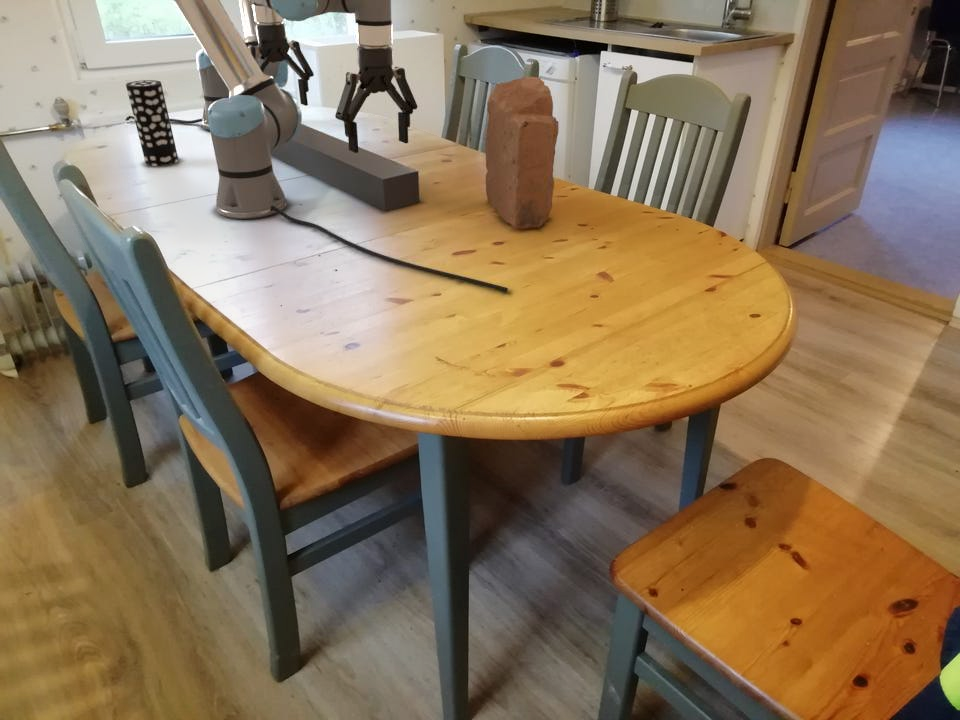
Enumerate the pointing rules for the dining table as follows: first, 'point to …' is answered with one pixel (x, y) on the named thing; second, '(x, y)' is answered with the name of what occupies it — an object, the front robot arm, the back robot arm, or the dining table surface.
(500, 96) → the stone
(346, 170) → the wide beam
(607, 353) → the dining table surface
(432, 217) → the dining table surface
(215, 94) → the back robot arm
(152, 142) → the black white spotted cylinder
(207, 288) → the dining table surface
